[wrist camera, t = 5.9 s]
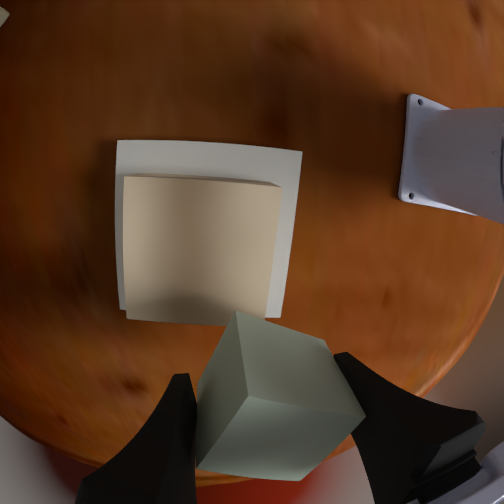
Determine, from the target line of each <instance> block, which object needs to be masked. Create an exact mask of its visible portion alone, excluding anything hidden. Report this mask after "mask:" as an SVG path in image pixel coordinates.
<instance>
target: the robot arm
mask: <svg viewBox="0 0 504 504" xmlns="http://www.w3.org/2000/svg"><path fill="white" fill-rule="evenodd" d="M418 100H419V101H420V105H419V104H418ZM410 193H411V197H410V198H409V194H410ZM398 197H399V199H400V200H401V201H404V202H409V203H415V204H420V205H426V206H431V207H437V208H442V209H447V210H452V211H457V212H462V213H466V214H471V215H476V216H477V215H478V216H481V217H484V218H487V219H489V220H492V221H495V222H498V223H500V224H503V225H504V107H485V108H464V109H450V108H448V107H446V106H443V105H441V104H439V103H436V102H434V101H432V100H429V99H427V98H424V97H422V96H419V95H417V94H410V95H408V97H407V111H406V127H405V140H404V151H403V160H402V169H401V177H400V184H399V191H398ZM334 360H335V361H336V363H337V365H338V367H339V369H340V370H341V372H342V374H343V375H344V377H345V378H346V380H347V382H348V384H349V386H350V388H351V389H352V391H353V393H354V395H355V397H356V398H357V400H358V402H359V404H360V406H361V408H362V409H363V411H364V413H365V415H366V417H365V418H364V419H363V420H362V421H361V423H360V424H359V425H358V426H357V427H356V428H355V429H354V430H353V431H352V432H351V435H352V437H353V439H354V441H355V443H356V445H357V448H358V450H359V453H360V456H361V458H362V461H363V464H364V467H365V470H366V473H367V476H368V480H369V483H370V487H371V490H372V494H373V498H374V502H375V504H499V503H500V502H501V501H502V500H503V499H504V441H503V442H502V443H501V444H499V445H498V446H496V447H495V448H494V449H492V450H491V451H490V452H489V453H488V454H487V455H486V456H485V457H484V459H483V460H482V462H481V463H480V464H479V463H478V462H477V460H476V459H475V458H474V457H475V456H476V451H475V450H474V449H473V448H474V447H475V445H476V444H477V443H478V441H479V440H480V438H481V437H482V435H483V433H484V432H485V429H486V423H485V422H484V421H483V420H482V419H481V417H480V416H479V415H478V414H477V413H476V412H475V411H470V410H463V409H457V408H452V407H448V406H444V405H440V404H437V403H434V402H431V401H428V400H425V399H423V398H420V397H418V396H415V395H413V394H411V393H409V392H407V391H405V390H403V389H401V388H399V387H397V386H396V385H394V384H392V383H391V382H389V381H387V380H386V379H384V378H383V377H381V376H380V375H378V374H377V373H375V372H374V371H372V370H371V369H369V368H368V367H367V366H365V365H364V364H363V363H361V362H360V361H359V360H357V359H356V358H355V357H353V356H352V355H351V354H349V353H348V352H343V353H338V354H334ZM196 422H197V403H196V399H195V396H194V392H193V388H192V384H191V380H190V376H189V373H184V374H174V375H173V377H172V379H171V381H170V383H169V385H168V387H167V389H166V391H165V393H164V395H163V396H162V398H161V400H160V401H159V403H158V405H157V406H156V408H155V410H154V411H153V413H152V414H151V416H150V417H149V418H148V420H147V421H146V423H145V424H144V425H143V427H142V428H141V429H140V431H139V432H138V433H137V434H136V435H135V437H134V438H133V439H132V440H131V441H130V442H129V443H128V444H127V445H126V446H125V447H124V448H123V449H122V450H121V451H120V452H119V453H118V454H117V455H115V456H114V457H113V458H112V459H111V460H109V461H108V462H107V463H106V464H104V465H103V466H102V467H100V468H99V469H97V470H96V471H94V472H93V473H91V474H90V475H88V476H86V477H85V478H83V479H82V481H81V483H80V486H79V488H78V492H77V496H76V500H75V504H197V500H196V486H195V459H196Z"/></svg>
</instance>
